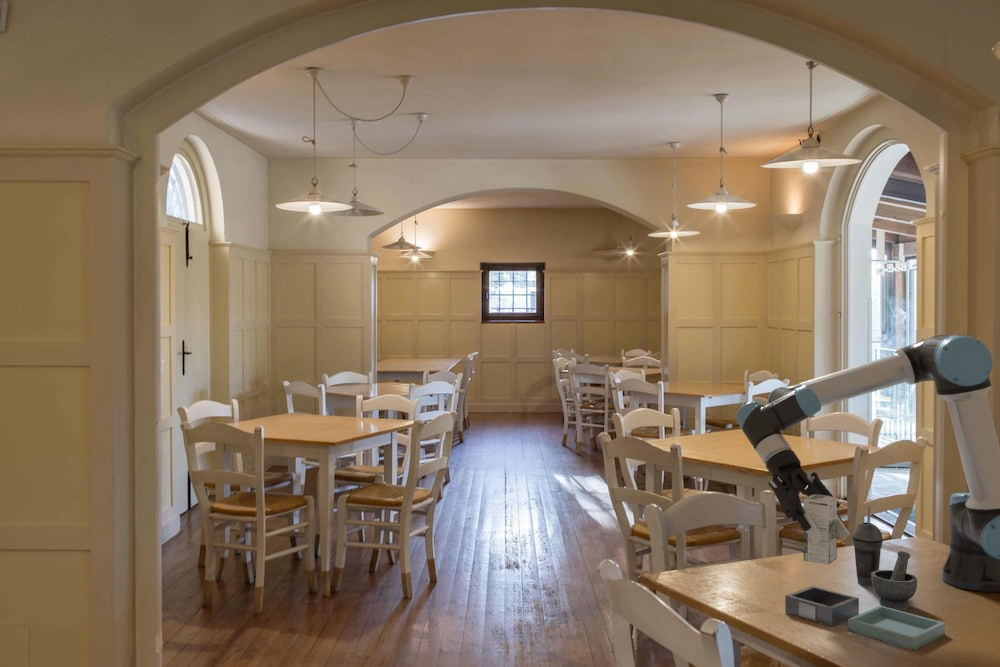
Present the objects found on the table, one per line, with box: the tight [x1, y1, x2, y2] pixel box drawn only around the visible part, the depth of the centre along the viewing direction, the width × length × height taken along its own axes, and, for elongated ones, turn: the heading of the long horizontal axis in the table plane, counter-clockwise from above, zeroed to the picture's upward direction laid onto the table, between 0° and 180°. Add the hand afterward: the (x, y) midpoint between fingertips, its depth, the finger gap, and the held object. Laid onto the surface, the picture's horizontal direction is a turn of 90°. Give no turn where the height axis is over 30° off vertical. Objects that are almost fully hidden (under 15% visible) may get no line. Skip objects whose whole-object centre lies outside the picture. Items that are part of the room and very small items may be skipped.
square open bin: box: [784, 585, 860, 628], centre depth 186 cm, size 12×11×4 cm
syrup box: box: [803, 495, 838, 565], centre depth 186 cm, size 6×6×14 cm
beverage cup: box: [851, 506, 884, 587], centre depth 209 cm, size 7×7×20 cm
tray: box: [847, 605, 946, 652], centre depth 175 cm, size 14×14×2 cm
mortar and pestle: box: [871, 550, 918, 610], centre depth 193 cm, size 11×9×12 cm
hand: (832, 539), depth 183 cm, fingers closed on syrup box, 7 cm apart
